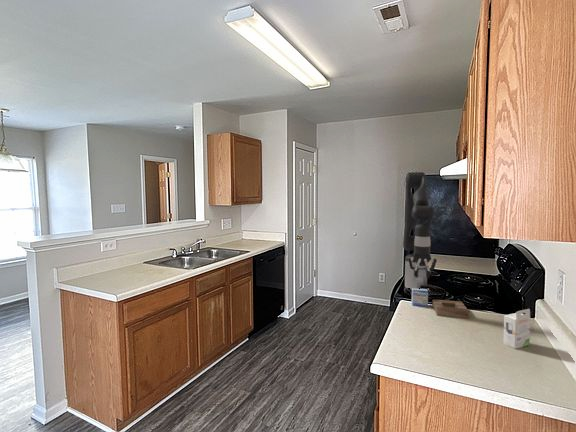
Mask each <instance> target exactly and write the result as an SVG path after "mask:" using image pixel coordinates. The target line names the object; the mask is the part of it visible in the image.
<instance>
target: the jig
mask: <svg viewBox="0 0 576 432" xmlns="http://www.w3.org/2000/svg"><path fill="white" fill-rule="evenodd" d="M431 304H432V308H433V311H434V312H435V314H436V316H437V317H438V316H440V317H452V318H464V319H469V318H470V317H469V316H470V314H469V313H470V311H469V309H468V308H467V307H466V306H465V304H464V303H463V302H462V301H458V300H456V301H455V300H444V299H432V303H431Z"/></svg>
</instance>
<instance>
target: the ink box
mask: <svg viewBox="0 0 576 432" xmlns="http://www.w3.org/2000/svg"><path fill="white" fill-rule="evenodd" d="M530 336H531V309H530V308H527V309H522V310H518V311H516V312H515V313H509V314H505V315H503V345H505V346H508V347H510V348H512V349H514V350H515V349H520V348H523V347H524V348H525V347H526V346H527V345H528V346H530V343H531V342H530V340H531V339H530V338H531V337H530Z"/></svg>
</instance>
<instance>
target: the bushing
mask: <svg viewBox="0 0 576 432" xmlns="http://www.w3.org/2000/svg"><path fill="white" fill-rule="evenodd" d="M417 267H418V268H417V284H418V285H420V286H427V284H428V278H427V268H428V267H427V266H426V265H419V266H417Z"/></svg>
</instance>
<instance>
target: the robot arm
mask: <svg viewBox="0 0 576 432" xmlns="http://www.w3.org/2000/svg"><path fill="white" fill-rule="evenodd" d="M426 176H427V175H426V173H425V172H422V171H415V172H414V171H413V172H406V174H405V178H404V180H405V181H404V182H405V183H404V187H405V190H404V191H405V203H404V204H405V205H404V229H403V237H402V240H403V242H402V248H403V250H405V251H414V252H413V253H410V254H408V255H406V256H405V258H404V260H405V261H404V263H405V264H404V288H406V289H408V288H410V289H409V290H412V288H420V289H421V285H418V284H417V268H418V267H417V266H419V265H426V266H427V267H428V268H427V279H429V278H430V277H431V271H434V270H435V267H436V263H437V261H438V260H437V258H435V257H432V256H431V226H432V222H433V219H434V216H435V209H434V207H433V206H431V205H429V200H428V196H427V187H428V186H427V177H426ZM412 189H417V190H416V191H414V193H413V192H412ZM421 220H422V221H425V222H423V223H420V224H418V223H419V222H420V221H421ZM414 227H415V228H414ZM413 229H414V235H410V234H411V233H412V231H413ZM430 261H431V265H429V262H430Z"/></svg>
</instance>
